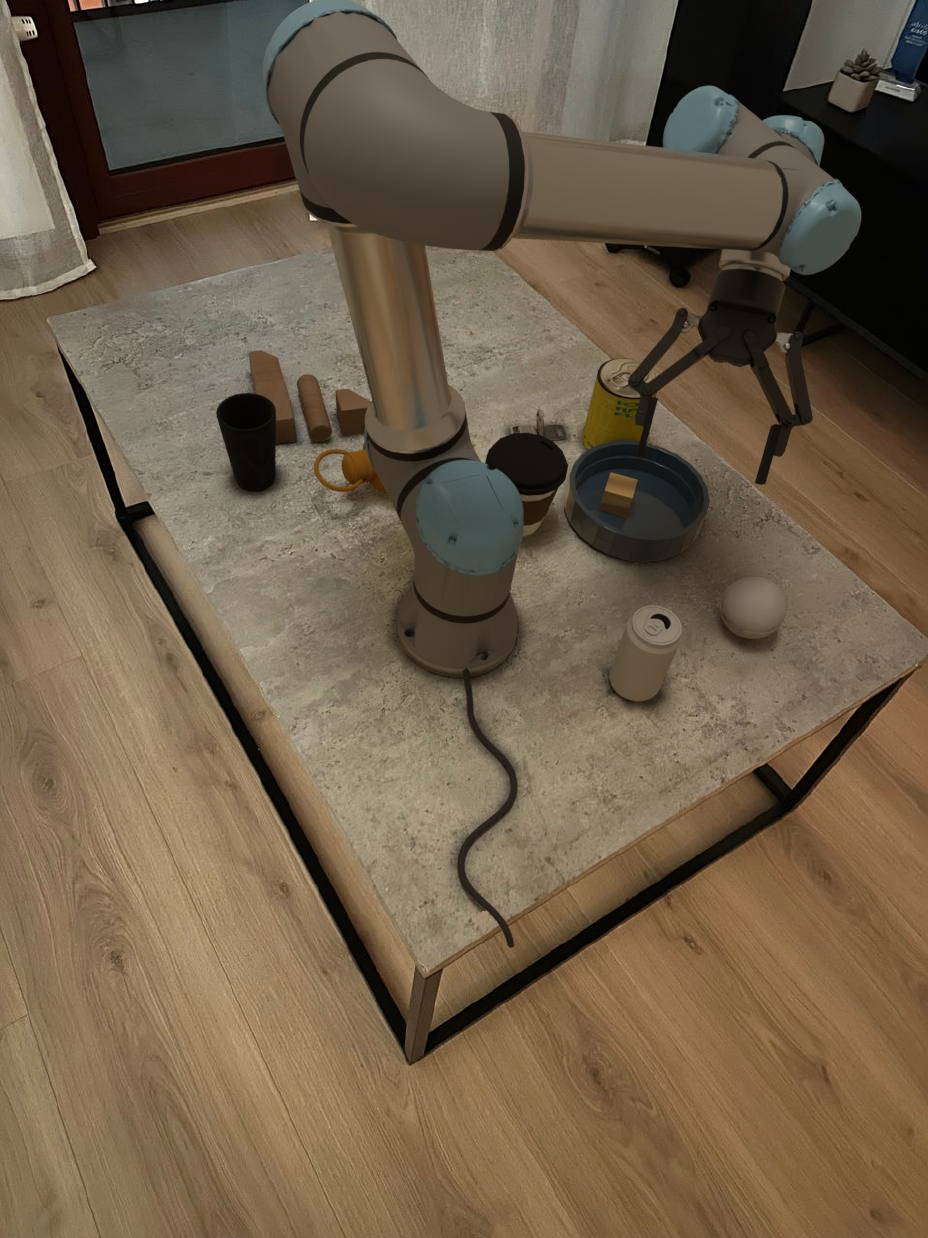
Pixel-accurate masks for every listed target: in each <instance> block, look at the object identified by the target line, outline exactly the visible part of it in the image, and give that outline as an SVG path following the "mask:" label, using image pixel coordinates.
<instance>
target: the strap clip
mask: <svg viewBox="0 0 928 1238" xmlns="http://www.w3.org/2000/svg"><path fill="white" fill-rule="evenodd" d="M544 417H546V415H545V412H544V410H543V409H541V408H537V410H536V419H535V420H536V425H533V424H532V423H531V424H530V423H529V424H527V423H526V424H515V425H511V426H510V427H509V435H510V434H513V433H514V432H517V433H532V434H537V435H541V436H543V437H545V438H547V439H549V440H551V441H560V440H563V439H566V437H567V433H566V430H565V428H564V425H561V424H548V425H545V420H544ZM535 426H536V427H535ZM536 428H537V430H536ZM558 429H560V430H561V433H562V435H559V433H558Z"/></svg>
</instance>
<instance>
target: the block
mask: <svg viewBox="0 0 928 1238" xmlns="http://www.w3.org/2000/svg"><path fill="white" fill-rule="evenodd" d="M637 482H638V480H637V479H633V478H629V477H626V476H622V475H619V474H615V473H610V475H609V479H608V482H607V485H606V488H605V491H604V494H603V498H602V502H601V505H600V509H599V510H600V511H603V512H607V513H610V514H614V515H617V516H621V517H624V518H626V517H627V514H628V511H629V508H630V505H631V502H632V499H633V495H634V492H635V488H636V485H637Z"/></svg>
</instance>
